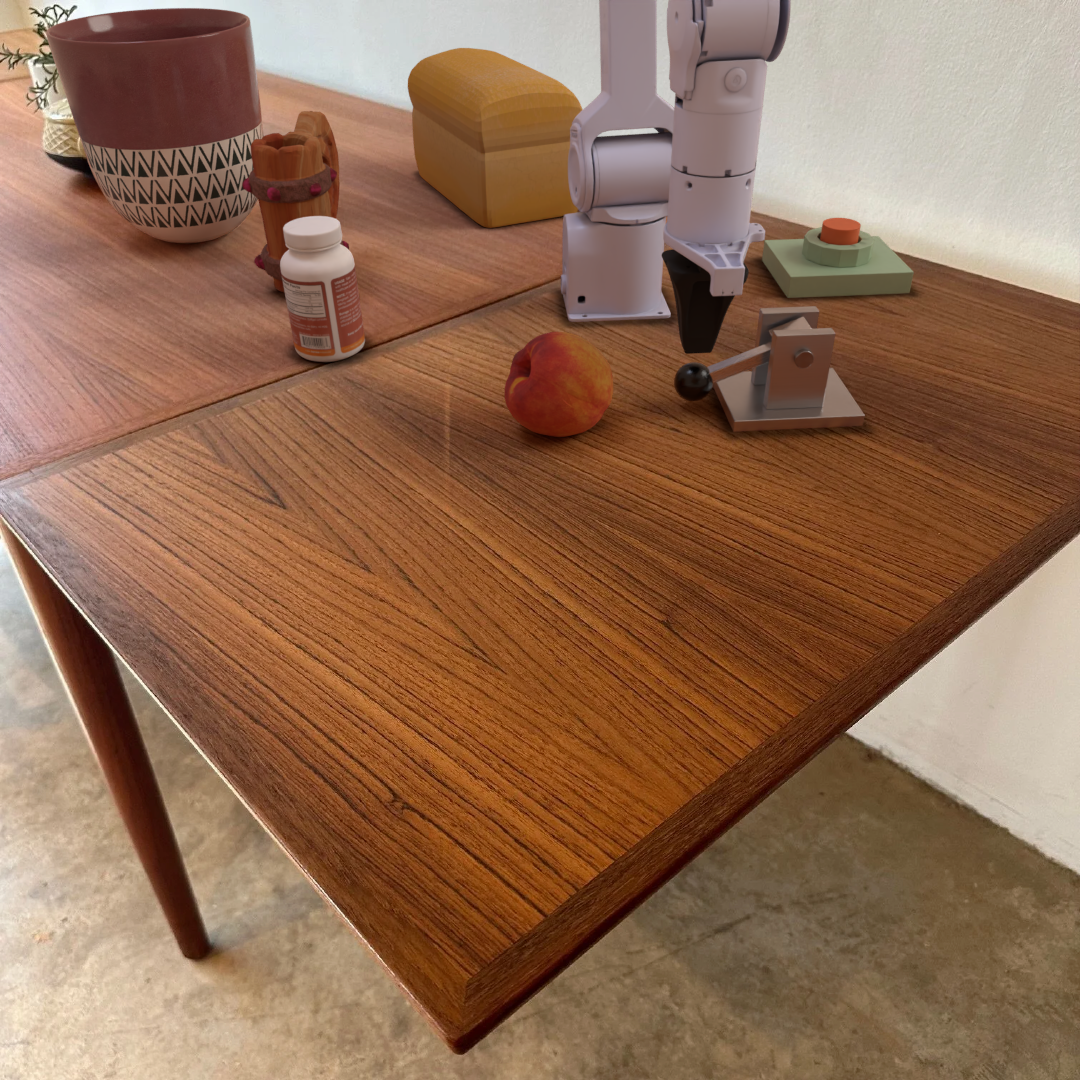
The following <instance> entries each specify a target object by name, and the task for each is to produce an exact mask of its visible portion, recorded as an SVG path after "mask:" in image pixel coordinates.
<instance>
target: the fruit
mask: <svg viewBox="0 0 1080 1080" xmlns="http://www.w3.org/2000/svg"><path fill="white" fill-rule="evenodd" d="M614 388H615V387H614V376H613V371H612V367H611V364H610V363H609V361H608V360H607V358H606V357H605V355H604V354H603V353H602V352H601V351H600V350H599V349H598V348H597V347H596V346H595V345H594V344H592V343H591V342H589V341H588V340H587V339H585V338H584V337H582V336H580V335H578V334H575V333H571V332H568V331H567V332H566V331H549V332H545V333H542V334H539V335H537V336H535V337H534V338H532V339H530V340H529V341H528V342H527V343H526V344H525V345H524V347H523V348H521V349H519V350H518V351H517V352H516V353H515V354H514V356H513V358H512V361H511V365H510V369H509V374H508V376H507V379H506V381H505V384H504V394H503V396H504V400H505V405H506V408H507V409H508V411H509V413H510V415H511V416H512V418H513V419H515V420H516V422H518V424H519V425H521V426H522V427H523V428H525V429H527V430H529V431H530V432H533V433H536V434H539V435H544V436H547V437H548V436H549V437H555V438H563V437H570V436H576V435H579V434H583V433H586V432H587V431H588V430H590V429H592V428H593V427H595V426H596V424H598V423H599V422H600V420H602V418H603V416H604V413H605V412H606V411H607V410H608V408H609V407H610V405H611V403H612V401H613V400H612V399H613V395H614Z"/></svg>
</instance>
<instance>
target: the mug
mask: <svg viewBox="0 0 1080 1080" xmlns="http://www.w3.org/2000/svg"><path fill="white" fill-rule="evenodd" d="M251 156H252V162H253V168H254V169H253V170H252V171H251V173H250V175H249V178H247V179H245V180H244V181H243V184H242V186H243V189H245V190H246V191H247V192H250V193H252V194H253V195H254V196H255V197H256V198H258V200H257V202H258V205H259V210H260V215H261V218H262V224H263V230H264V235H265V240H266V243H265V245H264V246H263V248H262V249H261V252H260V254H258V255H257V256H254V260H253V263H254V265H255V267H257V268H258V269H260V270H262V271H265V273H266V274H267V275H268V276H270V277H271V278H272V279H273V280H272V281H273V284H274V288H275V289H276V290H278V291H279V292H281V293H284V294H285V291H284V286H283V280H282V275H281V268H280V261H281V258H282V256H283V255H284V253H285V252H286V251H288V250H289V248H287V247H286V243H285V239H284V232H283V227H284V225H285V224H287V223H288V222H290V221H292V220H295V219H298V218H303V217H310V216H326V217H332V218H335V219H337V218H338V210H339V203H340V202H339V201H340V185H341V183H340V163H339V162H340V160H339V151H338V147H337V143H336V140H335V135H334V132H333V130H332V127H331V125H330V123H329V120H328V119H327V116H326V114H324V113H323V112H321V111H313V110H309V111H308V110H302V111H300V112H299V114H298V115H297V119H296V122H295V126H294V130H293V131H289V132H288V133H286V134H284V135H283V134H281V133H279V132H273V133H269V134H265V135H264V137H263V138H262V139H255V140H254V141H253V142H252V145H251ZM337 220H338V219H337ZM340 244H341V245H343V246H345V247H346V248H347V249H348V250H349V251H350V245H349V243H348V242H347V241H346V240H342V241H341V243H340Z"/></svg>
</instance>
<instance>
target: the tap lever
mask: <svg viewBox="0 0 1080 1080" xmlns="http://www.w3.org/2000/svg"><path fill="white" fill-rule="evenodd" d="M794 329H812V328H811V327H810V325H809V324H808V322H807V321H806V319H805V318H804V317H801V318H798V319H796V320H793V321H791V322H788V323H786V324H783V325H781V326H778V327H776V328H773V329H771V330H769V334H770V338H771V341H772V336H773V330H794ZM771 343H772V342H769V343H767V344H764V345H761V346H759V347H756V348H755V347H754V348H751V349H749V350H746V351H744V352H741V353H739V354H736V355H734V356H730V357H729V358H726V359H724V360H721V361H719V362H716V363H713V364H711V365H708V366H706V365H705V364H703V363H701V362H697V361H691V362H687V363H685V364H683V365H681V366H680V367H679V369H678V370H677V371H676V372H675V375H674V379H673V386H674V389H675V392H676V394H677V395H678V396H679V397H680V398H682V399H683V400H685V401H688V402H698V401H701V400H703V399H705V398H707V396H708V395H709V394H710V393H711V392H712V390H713V384H714V383H716V382H719V381H721V380H724V379H726V378H729V377H732V376H734V375H737V374H739V373H742V372H748V371H749V370H752V368H755V367H757V366H760V365H762V364H765V363H767V362H769V358H770V350H771Z"/></svg>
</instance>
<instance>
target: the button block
mask: <svg viewBox="0 0 1080 1080" xmlns="http://www.w3.org/2000/svg"><path fill="white" fill-rule="evenodd" d="M821 230H822V226H819V227H816V228H812V229H809V230H808V231H807V232H806V233H805V235H804V237H803V238H790V239H789V238H788V239H785V238H784V239H764V240H763V242H764V243H763V248H762V256H761V262H763V264H764V266H765V267H766V268H767V270H768V271H769V273H770V274H771V276H772V278H773V279H774V281H775V282H776V283H777V285H778V286H779V288H780V289H781V291H782V293H783V294H784V295H785V297H786V298H787V299H794V298H795V299H796V298H821V297H824V298H825V297H845V296H846V297H847V296H849V297H850V296H873V295H897V294H898V295H899V294H900V295H901V294H910V292H911V287H912V282H913V278H914V273H915V272H914V270H913V269H912V268H911V267H910V266H909V265H907V263H906V262H905V261H904V260H903V259H902V258H901V257H900V256H899V255H897V254H896V252H895V251H894V250H893V249H892V248H891V246H889V245H888V244H887V243H886V242H885V241H884V240H883V239H882V238H881V237H880V236H879V235H871V234H870V233H868V232H865V231H863V230H860V233H859V238H858V243H856V244H853V245H834V244H828V243H825V242H823V241H820V237H821Z"/></svg>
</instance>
